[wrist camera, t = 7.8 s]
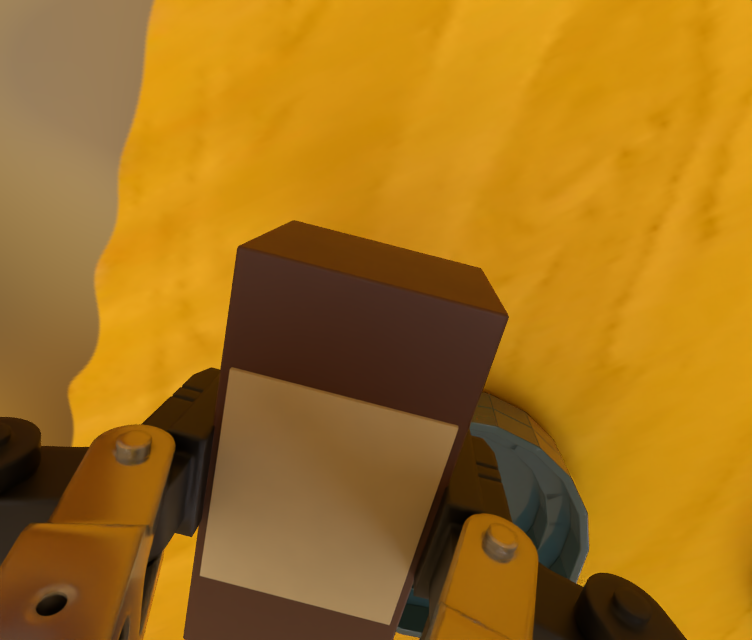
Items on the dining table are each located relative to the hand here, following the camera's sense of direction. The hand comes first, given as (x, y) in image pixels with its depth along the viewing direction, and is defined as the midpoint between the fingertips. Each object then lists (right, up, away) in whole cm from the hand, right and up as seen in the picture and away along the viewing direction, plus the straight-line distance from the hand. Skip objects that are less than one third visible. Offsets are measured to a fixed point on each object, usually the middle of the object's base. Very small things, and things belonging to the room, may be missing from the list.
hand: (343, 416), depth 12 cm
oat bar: (0, 0, 0) cm, 0 cm away
